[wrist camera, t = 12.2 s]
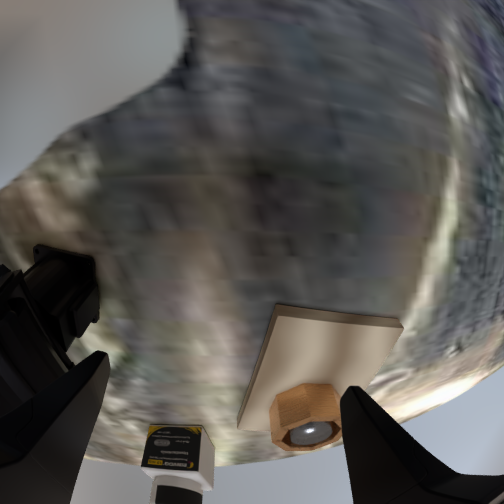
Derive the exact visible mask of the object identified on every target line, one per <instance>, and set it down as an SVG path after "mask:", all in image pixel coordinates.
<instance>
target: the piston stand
mask: <svg viewBox="0 0 504 504" xmlns="http://www.w3.org/2000/svg"><path fill="white" fill-rule="evenodd" d="M403 330H404V327H403V326H402V324H401V323H400V322H399V320H398V319H394V318H384V317H374V316H364V315H355V314H346V313H338V312H330V311H322V310H314V309H306V308H299V307H292V306H285V305H278V304H276V305H275V309H274V312H273V315H272V318H271V321H270V324H269V327H268V331H267V334H266V337H265V340H264V343H263V346H262V349H261V352H260V355H259V358H258V361H257V364H256V367H255V370H254V373H253V376H252V379H251V381H250V384H249V387H248V390H247V393H246V396H245V399H244V401H243V404H242V407H241V410H240V413H239V415H238V418H237V429H239V430H251V431H269V432H271V429H270V419H269V409H270V407H271V405H272V403H273V401H274V399H275V397H276V395H277V394H279V393H282V392H284V391H286V390H289V389H291V388H293V387H296V386H298V385H300V384H303V383H313V384H331V385H332V386H333V387H334V389H335V390H336V391H337V392H338V394H339V395H340V396H341V397H342V395H343V394H344V392H345V391H346V389H347V388H348V387H349V386H360V387H361V388H362V389H363V390H364V391H365V390H366V388H367V387H368V385H369V384H370V382H371V381H372V380H373V378H374V377H375V375H376V374H377V372H378V371H379V369H380V368H381V366H382V364H383V363H384V361H385V360H386V358H387V357H388V355H389V353H390V352H391V350H392V348H393V347H394V345H395V343H396V342H397V340H398V338H399V337H400V335H401V333H402V331H403Z"/></svg>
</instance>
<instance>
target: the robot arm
mask: <svg viewBox="0 0 504 504" xmlns="http://www.w3.org/2000/svg"><path fill="white" fill-rule="evenodd" d="M38 250H39V251H38ZM33 253H34V261H35V264H34V265H33V266H32V267H30V268H29V269H28V270H27V271H26V272H25V273H24V274H23V272H22V270H21V269H20V270H16V271H13V272H11V270H10V269H8V268H7V267H6V266H5V265H3V264H2V265H0V504H70V501H71V497H72V493H73V490H74V486H75V483H76V480H77V476H78V473H79V470H80V467H81V463H82V460H83V457H84V454H85V451H86V448H87V445H88V442H89V439H90V437H91V434H92V431H93V428H94V425H95V423H96V420H97V417H98V415H99V412H100V409H101V406H102V402H103V398H104V394H105V390H106V386H107V383H108V379H109V375H110V370H111V368H110V362H109V356H108V354H107V353H106V352H103V351H99V350H97V351H95V352H94V353H92V354H91V355H89V356H88V357H87V358H85V359H84V360H82V361H81V362H80V363H78V364H77V365H76V366H75V364H74V363H73V362H71V360H70V359H69V357H68V356H67V354H66V353H65V352H67V350H68V349H69V347H70V346H71V344H72V342H73V341H74V339H75V338H76V337H77V338H80V337H82V335H83V334H84V332H85V330H86V329H87V327H88V326H89V324H90V323H91V322H92V323H97V321H98V320H99V312H98V310H99V309H100V307H99V296H98V285H97V283H96V277H95V262H94V259H93V258H92V257H90V256H87V255H82V254H78V253H74V252H69V251H65V250H61V249H57V248H52V247H48V246H44V245H40V244H37V245H36V246H34V248H33ZM87 261H88V262H89V263H90V264H88V263H87ZM340 415H341V428H342V437H343V443H344V449H345V454H346V460H347V465H348V472H349V478H350V484H351V490H352V497H353V504H504V475H499V476H491V475H490V476H489V475H488V476H487V475H466V474H460V473H457V472H455V471H454V470H452V469H451V468H449V467H448V466H447V465H445V464H444V463H443V462H441V461H440V460H438V459H437V458H436V457H435V456H433V455H432V454H431V453H430V452H428V451H427V450H426V449H425V448H424V447H423V446H422V445H420V444H419V443H418V442H417V441H416V440H414V438H413V437H412V436H411V435H410V434H409V433H408V432H406V431H405V430H404V429H403V428H402V427H401V426H400V425H399V424H398V423H397V422H396V421H395V420H394V419H393V418H392V417H391V416H390V415H389V414H388V413H387V412H386V411H385V410H384V409H383V408H382V407H381V406H379V405H378V404H377V403H376V402H375V401H374V400H373V399H372V398H371V397H370V396H369V395H368V394H367V393H366V392H365V391H364V390H363V389H362V388H361V387H360V386H349V387H348V388H347V389H346V391H345V392H344V394H343V395H342V397H341V399H340Z"/></svg>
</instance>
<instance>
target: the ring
mask: <svg viewBox="0 0 504 504" xmlns="http://www.w3.org/2000/svg"><path fill="white" fill-rule="evenodd" d="M340 399H341V396H340V395H339V394H338V392H337V391H336V390H335V389H334V387H333V386H332V385H331V384H313V383H303V384H300V385H298V386H296V387H293V388H291V389H289V390H286V391H284V392H282V393H279V394H277V395H276V397H275V399H274V401H273V403H272V405H271V407H270V409H269V419H270V429H271V440H272V443H274V444H275V445H277V446H279V447H280V448H282V449H283V450H285V451H309V450H315V449H317V448H320V447H323V446H325V445H328V444H331V443H333V442H336V441H338V440H339V439H340V438H341V436H342V428H341V415H340ZM311 421H330V423H331V427H332V434H331V435H330V436H329V437H328V438H326V439H325V440H323V441H320V442H318V443H314V444H309V445H299V444H295V443H293V442H292V441H291V438H290V431H289V430H290V429H293V428H295V427H298V426H301V425H303V424H306V423H309V422H311Z"/></svg>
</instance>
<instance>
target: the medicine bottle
mask: <svg viewBox="0 0 504 504" xmlns="http://www.w3.org/2000/svg"><path fill="white" fill-rule="evenodd" d="M214 459H215V448H214V446H213V445H212V443H211V441H210V439H209V438H208V436H207V434H206V432H205V431H204V429H203V427H202V426H176V425H150V427H149V431H148V436H147V440H146V445H145V449H144V454H143V459H142V464H141V469H142V470H143V471H144V472H145V473H146V474H147V475H149V476H150V477H151V478H152V479H153V480H154V481H153V483H152V489H151V496H150V503H149V504H202V496H203V490H213V484H214Z"/></svg>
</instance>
